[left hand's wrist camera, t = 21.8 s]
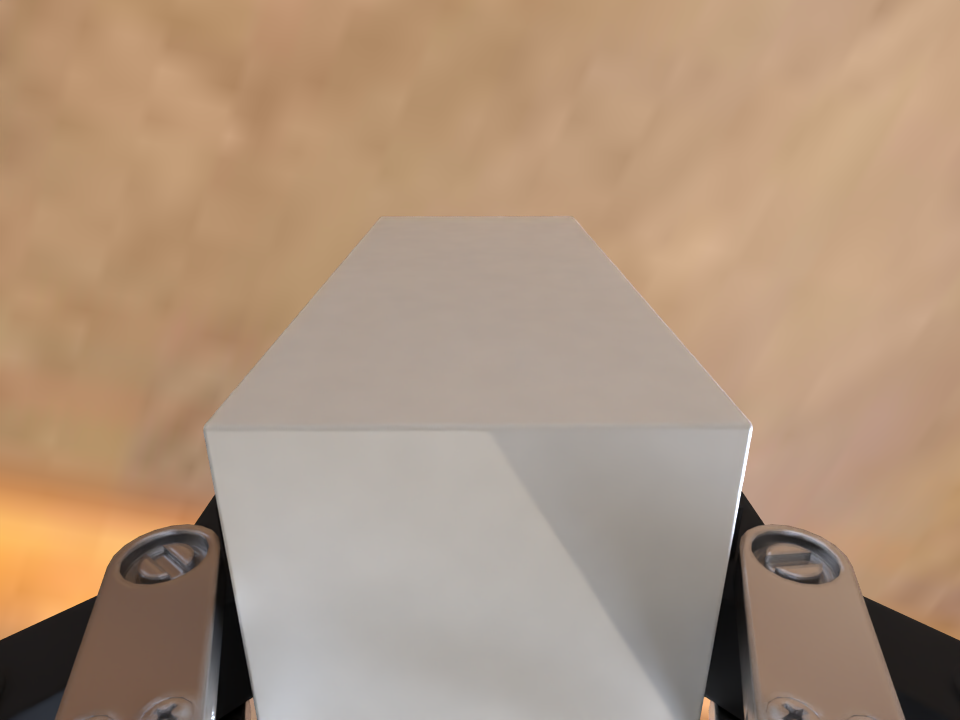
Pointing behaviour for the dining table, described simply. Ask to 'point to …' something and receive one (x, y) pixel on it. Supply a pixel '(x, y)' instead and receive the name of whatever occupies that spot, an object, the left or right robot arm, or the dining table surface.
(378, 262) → the block
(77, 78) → the dining table surface
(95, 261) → the dining table surface
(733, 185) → the dining table surface
